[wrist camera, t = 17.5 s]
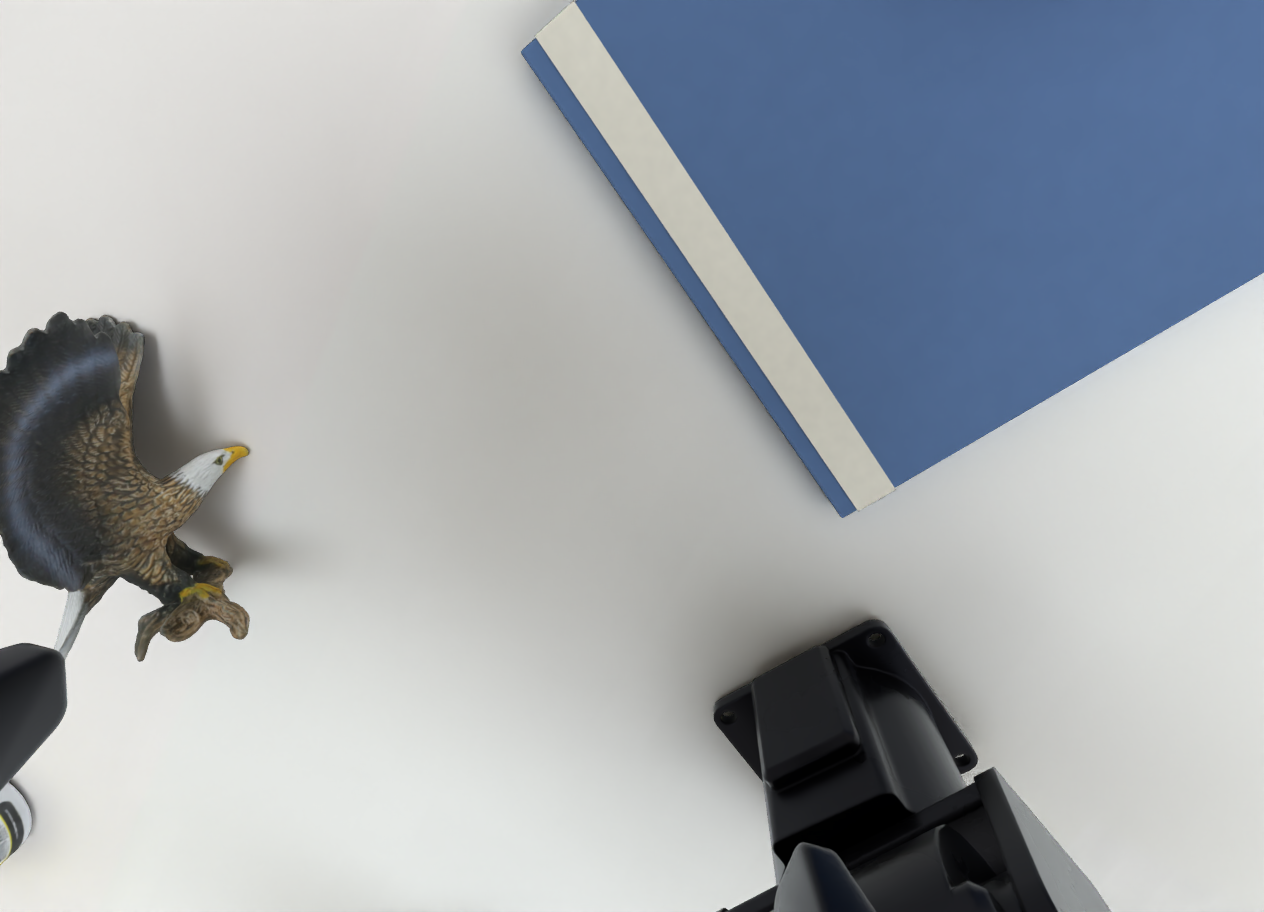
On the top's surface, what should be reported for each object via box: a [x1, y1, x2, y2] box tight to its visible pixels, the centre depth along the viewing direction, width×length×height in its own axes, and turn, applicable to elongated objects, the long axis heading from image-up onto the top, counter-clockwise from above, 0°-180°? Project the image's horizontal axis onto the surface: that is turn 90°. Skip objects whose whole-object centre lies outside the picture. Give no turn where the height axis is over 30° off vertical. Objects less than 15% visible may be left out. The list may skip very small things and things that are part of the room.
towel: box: [521, 0, 1264, 518], centre depth 16 cm, size 15×17×1 cm
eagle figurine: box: [0, 312, 250, 662], centre depth 19 cm, size 8×7×9 cm
